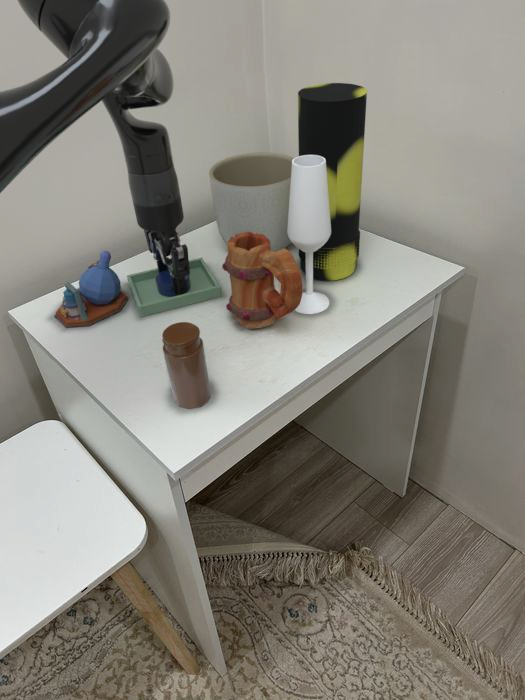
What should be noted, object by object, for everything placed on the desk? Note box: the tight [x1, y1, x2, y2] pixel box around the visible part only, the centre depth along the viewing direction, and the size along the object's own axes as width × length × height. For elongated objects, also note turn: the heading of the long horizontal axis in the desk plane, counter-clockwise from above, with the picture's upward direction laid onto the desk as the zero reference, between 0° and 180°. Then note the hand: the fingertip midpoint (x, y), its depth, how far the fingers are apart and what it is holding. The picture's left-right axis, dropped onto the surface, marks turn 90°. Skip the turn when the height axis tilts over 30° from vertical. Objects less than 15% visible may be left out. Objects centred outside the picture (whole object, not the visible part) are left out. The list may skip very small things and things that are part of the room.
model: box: [53, 250, 129, 329], centre depth 91 cm, size 12×9×9 cm
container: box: [297, 82, 368, 282], centre depth 91 cm, size 11×11×30 cm
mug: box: [221, 232, 304, 329], centre depth 82 cm, size 15×8×15 cm, turn 42°
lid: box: [156, 269, 191, 297], centre depth 96 cm, size 6×6×2 cm
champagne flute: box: [287, 155, 331, 315], centre depth 84 cm, size 7×7×24 cm
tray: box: [126, 257, 222, 318], centre depth 96 cm, size 14×11×2 cm
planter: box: [208, 151, 295, 252], centre depth 104 cm, size 17×17×15 cm
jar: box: [161, 321, 212, 410], centre depth 72 cm, size 5×5×11 cm
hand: (173, 284), depth 96 cm, fingers closed on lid, 5 cm apart
